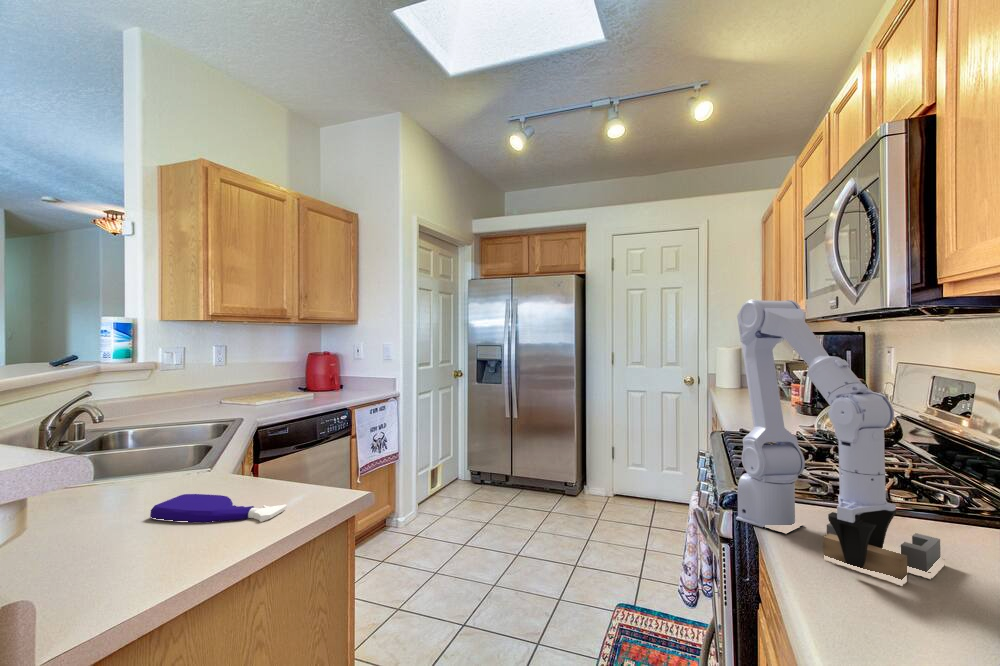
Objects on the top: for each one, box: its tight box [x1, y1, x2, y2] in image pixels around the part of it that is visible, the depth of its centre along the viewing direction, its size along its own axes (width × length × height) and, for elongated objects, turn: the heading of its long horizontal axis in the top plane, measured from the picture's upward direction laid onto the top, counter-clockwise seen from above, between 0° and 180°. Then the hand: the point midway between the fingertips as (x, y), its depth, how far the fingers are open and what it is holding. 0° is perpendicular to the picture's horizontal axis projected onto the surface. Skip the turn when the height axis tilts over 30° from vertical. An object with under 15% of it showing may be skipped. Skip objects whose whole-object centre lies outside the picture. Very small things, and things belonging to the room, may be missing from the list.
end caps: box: [826, 522, 942, 572], centre depth 78 cm, size 13×8×3 cm, turn 36°
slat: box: [822, 533, 908, 580], centre depth 73 cm, size 10×2×4 cm, turn 35°
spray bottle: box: [150, 493, 288, 523], centre depth 96 cm, size 3×11×24 cm
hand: (863, 558), depth 73 cm, fingers open, 7 cm apart
